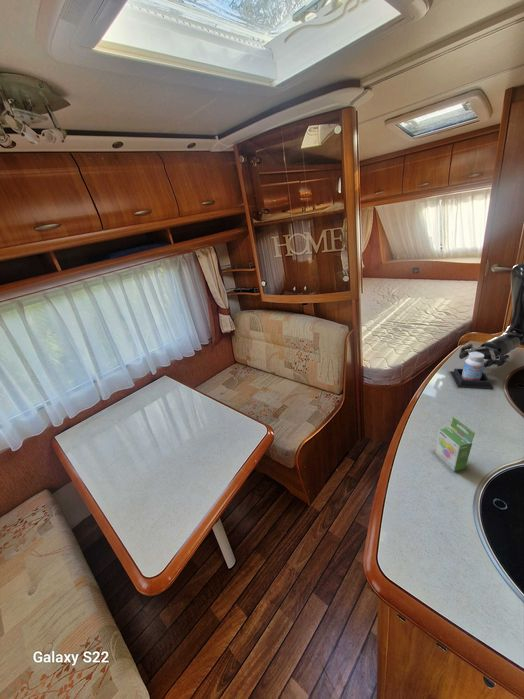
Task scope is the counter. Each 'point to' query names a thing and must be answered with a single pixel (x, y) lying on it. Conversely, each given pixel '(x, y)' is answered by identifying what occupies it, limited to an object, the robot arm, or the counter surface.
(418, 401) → the counter surface
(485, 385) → the socket pad
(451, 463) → the ink box
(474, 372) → the pill bottle
